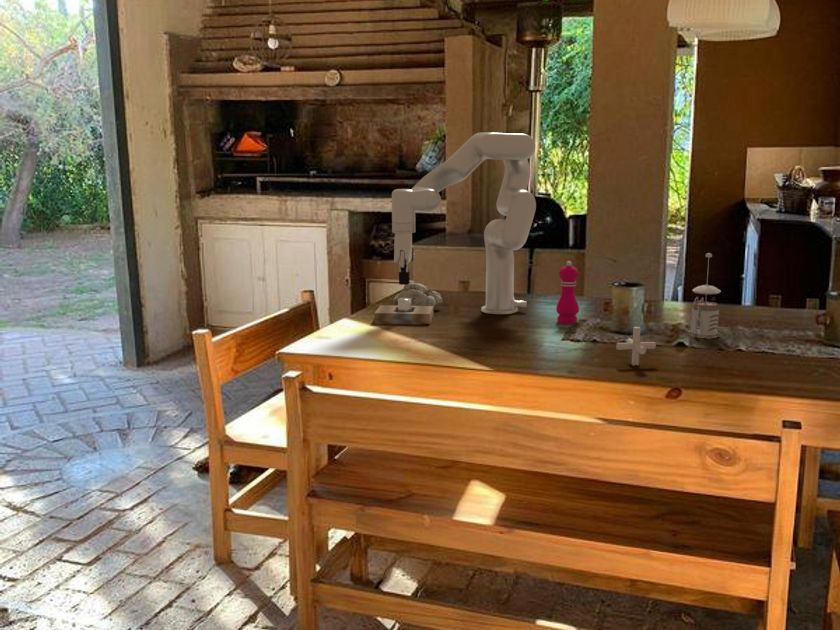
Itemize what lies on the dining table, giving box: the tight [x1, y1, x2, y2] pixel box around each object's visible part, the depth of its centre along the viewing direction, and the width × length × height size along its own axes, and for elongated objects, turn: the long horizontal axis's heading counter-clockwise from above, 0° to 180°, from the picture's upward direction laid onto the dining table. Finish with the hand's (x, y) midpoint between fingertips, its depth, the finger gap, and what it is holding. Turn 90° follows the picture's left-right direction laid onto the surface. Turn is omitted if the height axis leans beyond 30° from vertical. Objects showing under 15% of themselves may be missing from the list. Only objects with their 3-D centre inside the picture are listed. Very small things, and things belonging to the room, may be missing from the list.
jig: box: [374, 304, 435, 325], centre depth 273 cm, size 18×13×4 cm
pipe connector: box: [615, 326, 657, 366], centre depth 217 cm, size 10×10×10 cm
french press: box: [689, 252, 722, 335], centre depth 247 cm, size 10×12×25 cm
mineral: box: [392, 282, 444, 307], centre depth 291 cm, size 12×17×10 cm
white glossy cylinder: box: [398, 298, 412, 312], centre depth 273 cm, size 4×4×7 cm
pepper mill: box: [555, 260, 580, 325], centre depth 267 cm, size 7×7×20 cm
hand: (404, 283), depth 271 cm, fingers closed
